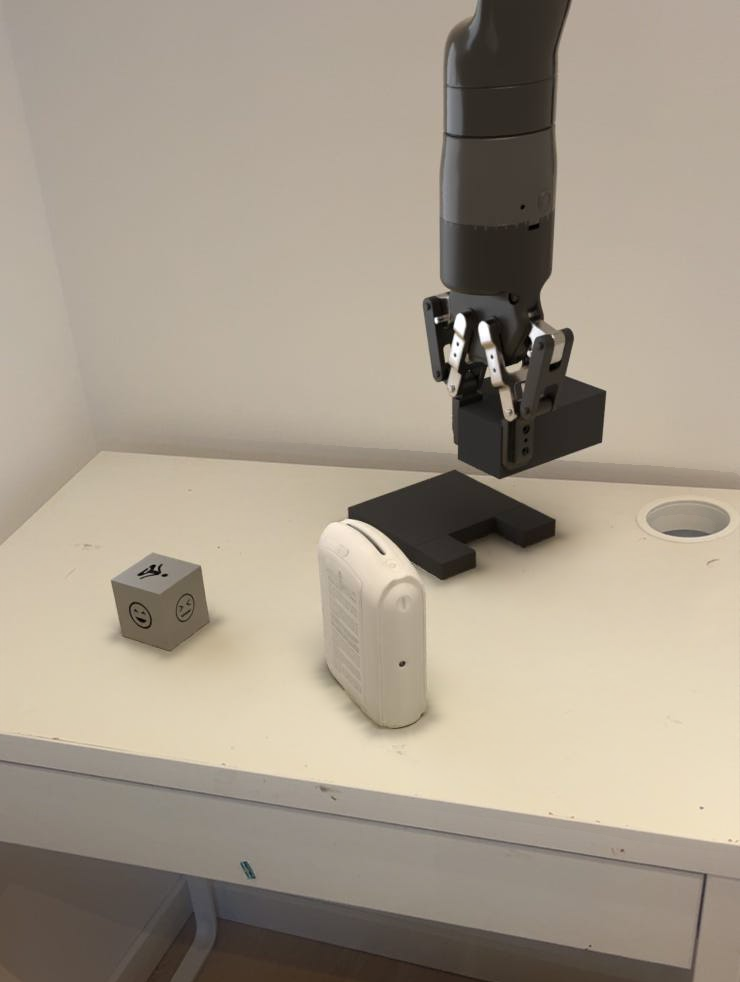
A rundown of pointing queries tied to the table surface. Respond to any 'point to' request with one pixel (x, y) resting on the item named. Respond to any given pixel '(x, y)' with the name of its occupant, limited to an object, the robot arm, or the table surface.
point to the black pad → (450, 520)
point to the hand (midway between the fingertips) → (491, 453)
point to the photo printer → (373, 622)
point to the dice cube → (160, 601)
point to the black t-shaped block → (553, 431)
